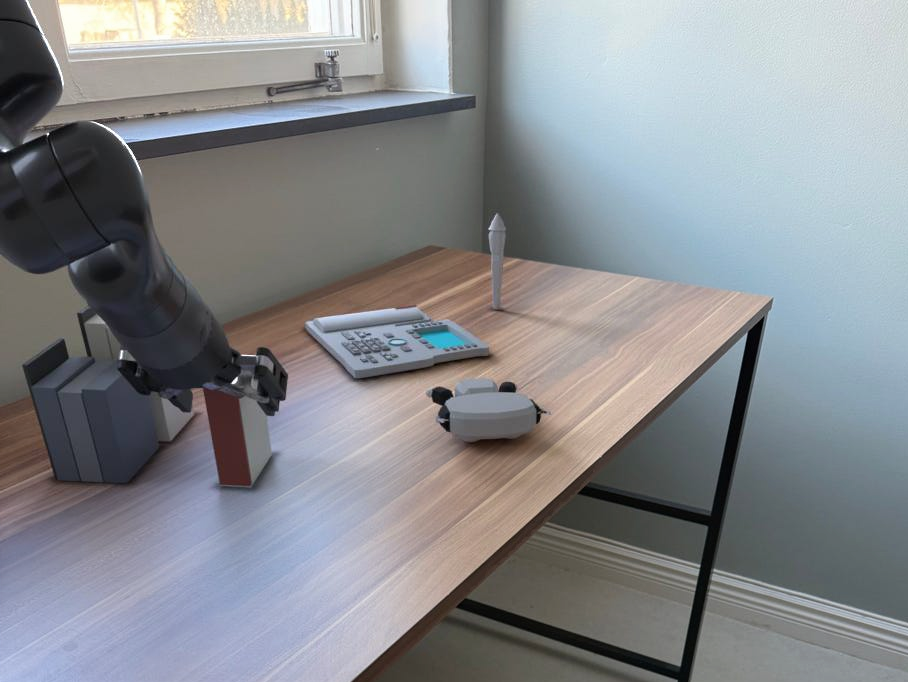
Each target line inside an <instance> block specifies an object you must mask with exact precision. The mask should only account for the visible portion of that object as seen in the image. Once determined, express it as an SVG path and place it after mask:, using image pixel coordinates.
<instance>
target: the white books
mask: <svg viewBox="0 0 908 682" xmlns="http://www.w3.org/2000/svg"><path fill="white" fill-rule="evenodd" d="M76 316H77V320H78V324H79V328H80V331H81V332H80V333H81V336H82V340H83V345H84V348H85V352H86V357H94V358H95V361H116V360H117V359H118V358H119V352H120V346H121V344H120V343H119V342H118V341H117V339H116V338H115V337H114V335H113V334H112V332H111V331H110V329H109V327H108V326H107V324H106V323H105V322H104V321H103V320H102V319H101V318H100V317H99V316H98V315H97V314H96V312H95V311H94V310H93V309H92V308H91V307H90V306H89V305H88V304H87V305H86V306H85V307H84V308H82V309H80V310H79V311H77V312H76ZM148 397H149V402H150V406H151V411H152V416H153V420H154V425H155V430H156V434H157V439H158V442H164V443H165V442H166V443H167V442H168V443H170V442H172V441H173V439H174V438H175V437H177V435H178V434H180V432H181V431H182V429H183V428H184V427H185V426H186V425H187V424H188V423H189V421H190V420H191V419H192V418H193V417H194V416H195V410H194V404H193V403H192V409H191V412H190V413H187V412H182V411H181V410H180V409H179V408H178V407H176V406H174V405H173V404H172V403H171V402H170V401H169V400H168V399H164V398H161V397H159V396H158V392H153V391H151V394H150V395H148Z"/></svg>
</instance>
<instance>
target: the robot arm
mask: <svg viewBox="0 0 908 682" xmlns="http://www.w3.org/2000/svg"><path fill="white" fill-rule="evenodd" d="M63 91H64V78H63V75H62V70H61V69H60V65H59V64H58V61H57V59H56V57H55V54H54V52H53V50H52V49H51V46H50V44H49V43H48V40H47V38H46V36H45V34H44V31H42V28H41V26H40V24H39V22H38V20H37V18H36V15H35V14H34V12H33V9H32V7H31V5H30V3H29V1H28V0H0V256H1V257H2V258H3V259H4V260H5V261H7V262H8V264H11V265H12V266H13V267H15V268H17V269H19V270H22V271H23V272H25V273H28V274H32V275H45V274H50V273H53V272H56V271H58V270H61V269H63V268H65V267H66V269H67V273H68V277H69V280H70V283H71V285H72V287H73V288H74V290H75V291H76V293H77V294H78V295H79V296H80V298H81V299H82V300H83V301H84V303H86V304H87V306H88V305H89V306H90V307H91V308H92V309H93V310H94V311H95V312H96V314H97V315H98V316H99V317H100V318H101V319H102V320H103V321H104V322H105V323H106V324H107V326H108V327H109V329H110V331H111V332H112V334H113V335H114V337H115V338H116V339H117V341H118V342H119V343H120V344H121V346H120V352H119V359H118V368H117V370H118V371H119V372H120V373H121V374H122V375H123V376H124V378H125V379H126V380H127V381H128V382H129V383H130V384H131V386H132V387H133V388H134V389H135V390H136V391H137V392H138V393H139V394H142V395H150V394H151V391H153V392H158V396H159V397H161V398H164V399H168V400H169V401H170V402H171V403H172V404H173V405H174V406H176V407H178V408H179V409H180V410H181V411H182V412H187V413H190V412H191V409H192V404H193V400H194V394H193V391H192V390H193V389H203V388H208V389H210V390H213V391H214V390H219V391H222V392H224V393H226V394H229V395H231V396H233V397H236V398H238V399H241V398H244V397H248V398H251V399H253V400H255V401H257V403H258V405H259V406H260V407H261V409H262V410H263V412H264V413H265V414H266V416H267V417H275V415H276V413H278V412H279V410H280V404H281V403H280V402H284V401H286V399H287V391H288V390H287V389H288V382H289V381H288V380H289V373H287V371H286V369H285V368H284V367H283V365H282V364H281V362H279V360H278V359H277V357H276V356H275V354H274V353H273V352H272V350H271V349H269V348H267V347H264V346H260V347H257V348H256V354H255V355H256V356H242V355H243V354H241V352H240V351H238V350H237V349H235V348H233V347H232V346H231V345H230V344H229V343H230V342H229V341H228V337H227V335H226V332H225V330H224V328H223V326H222V325H221V322H219V320H218V319H217V317H216V316H215V314H214V313H213V312H212V309H210V307H209V305H208V304H207V303H206V302H205V300H204V298H203V297H202V295H201V294H200V293H199V291H198V290H197V288H196V287H195V285H194V284H193V283H192V282H191V281H190V279H189V278H188V277H187V276H186V275H185V274H184V273H183V272H182V271H181V270H180V269H179V268H178V267H177V265H176V263H175V262H174V261H173V259H172V257H171V256H170V254H169V253H168V252H167V250H166V249H165V247H164V246H163V244H162V242H161V240H160V239H159V236H158V235H157V231H156V228H155V224H154V219H153V213H152V208H151V203H150V197H149V193H148V189H147V186H146V182H145V180H144V176H143V172H142V170H141V168H140V165H139V163H138V161H137V159H136V156H135V155H134V154H133V151H132V150H131V149H130V147H129V146H128V145H127V144H126V142H125V141H124V140H123V139H122V138H121V136H119V134H117V133H116V132H115V131H113V130H112V129H110V128H109V127H107V126H105V125H103V124H101V123H98V122H95V121H92V120H87V119H85V120H84V119H83V120H81V119H79V120H74V121H70V122H67V123H65V124H63V125H60V126H59V127H57V128H54V129H51V130H50V131H48V133H47V132H46V133H44V134H42V135H39V136H37V137H35V138H33V139H31V140H29V141H26V142H25V139H26V138H27V136H28V134H30V133H31V131H32V130H33V129H34V128H35V127H36V126H37V125H38V124H39V123H40V122H42V121H43V120H44V119H45V118H46V117H47V116H48V115H49V114H51V113H52V112H53V111H54V109H55V108H56V107H57V105H58V103H59V102H60V100H61V99H62V95H63ZM237 377H238V379H237V386H235V385H232V384H231V383H232V382H233V381H234V380H235V379H236V378H237ZM252 379H254V381H256V382H258V385H257V390H255V389H253V388H252V387H251V380H252Z"/></svg>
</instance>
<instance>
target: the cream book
mask: <svg viewBox="0 0 908 682" xmlns="http://www.w3.org/2000/svg"><path fill="white" fill-rule="evenodd" d="M241 355H242V356H256V354H255V355H254V354H251V355H250V354H241ZM237 379H238V377H237V378H236V379H235V380H234V381H233V382H232V383H231V384H232V385H235V386H237ZM257 385H258V382H256V381H254V379H252V380H251V387H252V388H253V389H255V390H257ZM202 392H203V396H204V397H203V398H204V402H205V408H206V414H207V419H208V425H209V430H210V437H211V441H212V447H213V448H212V449H213V454H214V459H215V464H216V470H217V477H218V482H219V485H220V487H229V488H231V487H232V488H252V487H253V485H254V484H255V482H256V481H257V480H258V477H259V476H260V474H261V473H262V472H263V470H264V468H265V467H266V465H267V463H268V461H270V458H271V457H272V455H273V452H272V445H271V444H272V443H271V437H270V436H271V435H270V430H269V424H268V416H266V414H265V413H264V412H263V410H262V409H261V407H260V406H259V405H258V403H257V401H255V400H253V399H251V398H248V397H244V398H241V399H238V398H236V397H233V396H231V395H229V394H226V393H224V392H222V391H219V390H214V391H213V390H210V389H208V388H202Z"/></svg>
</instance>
